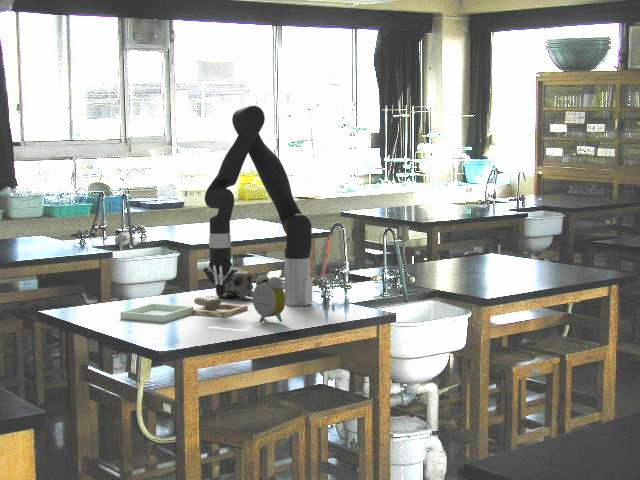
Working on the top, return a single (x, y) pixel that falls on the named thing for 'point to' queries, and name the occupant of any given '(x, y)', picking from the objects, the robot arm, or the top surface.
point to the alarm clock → (269, 297)
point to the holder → (207, 312)
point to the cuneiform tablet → (208, 301)
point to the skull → (239, 285)
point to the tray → (156, 313)
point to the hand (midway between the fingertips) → (220, 295)
